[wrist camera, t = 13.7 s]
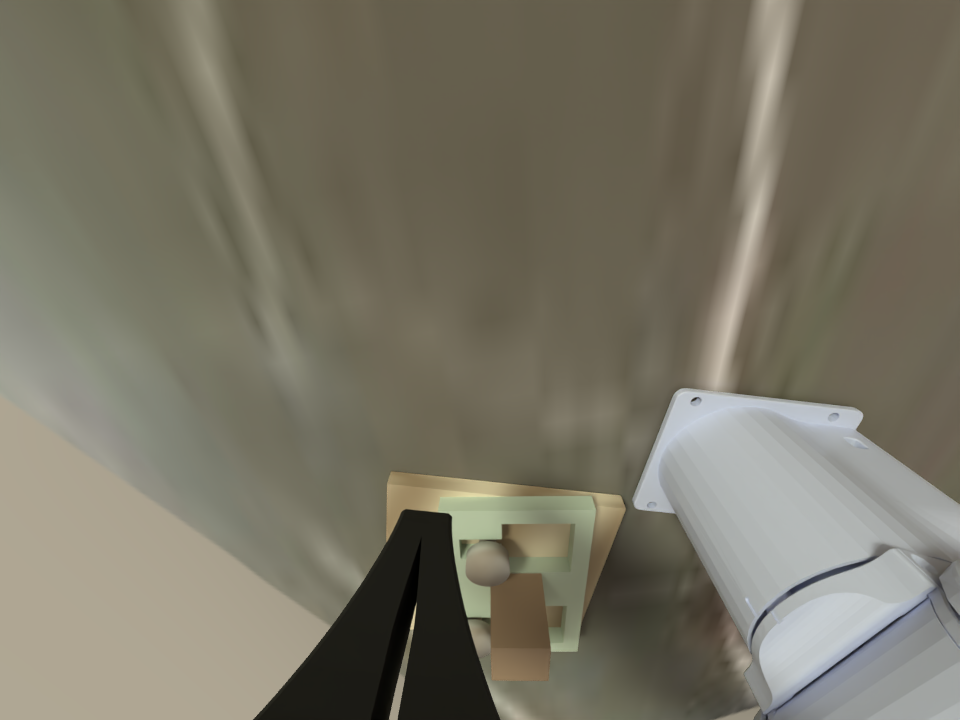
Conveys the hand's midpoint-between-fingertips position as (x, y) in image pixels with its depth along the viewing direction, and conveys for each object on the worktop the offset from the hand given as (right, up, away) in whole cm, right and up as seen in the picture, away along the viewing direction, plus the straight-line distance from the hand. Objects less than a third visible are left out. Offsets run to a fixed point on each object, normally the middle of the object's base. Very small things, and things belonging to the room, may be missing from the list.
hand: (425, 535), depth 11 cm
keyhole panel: (+4, -9, +13) cm, 16 cm away
